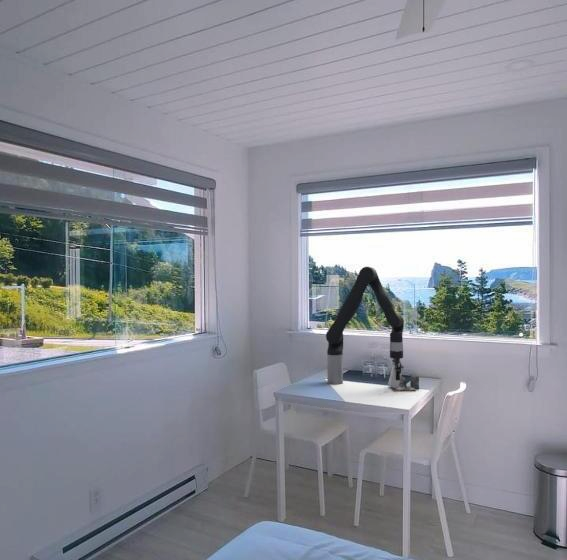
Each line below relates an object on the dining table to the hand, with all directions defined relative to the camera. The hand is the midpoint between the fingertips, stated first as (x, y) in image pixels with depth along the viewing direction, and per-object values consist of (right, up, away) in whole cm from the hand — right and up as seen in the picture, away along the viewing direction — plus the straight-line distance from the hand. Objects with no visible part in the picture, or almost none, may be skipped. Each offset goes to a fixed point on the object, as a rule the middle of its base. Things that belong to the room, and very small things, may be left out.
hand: (396, 378), depth 279 cm
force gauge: (-2, -4, 0) cm, 5 cm away
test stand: (+4, -5, -3) cm, 7 cm away
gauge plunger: (+4, -4, -2) cm, 6 cm away
